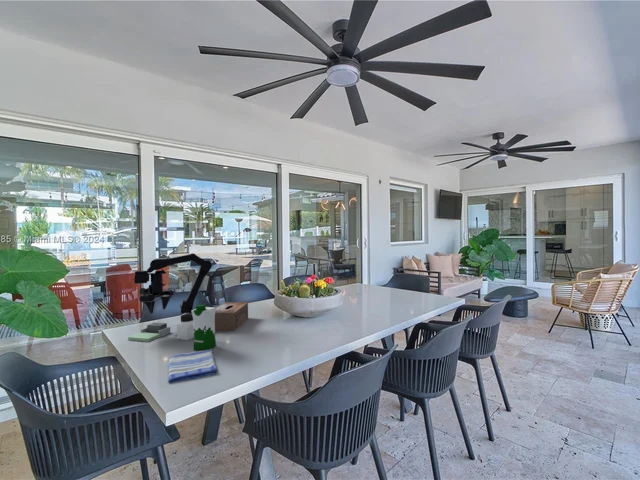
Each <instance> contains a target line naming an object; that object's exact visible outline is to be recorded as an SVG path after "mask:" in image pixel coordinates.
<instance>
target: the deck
mask: <svg viewBox="0 0 640 480" xmlns="http://www.w3.org/2000/svg"><path fill="white" fill-rule="evenodd" d="M158 333H159V334H156V333H147V326H146V327H144V328H141V329H140V332H138V333H136V334H132V335H130V336H128V337H127V340H128V341H131V342H132V341H135V342H142V343H143V342H144V343H149V342H151V341H154V340H157V339H158V338H161V337H164V336H165V335H168V334H171V327H170V326H167V328H164V329H162V330H159V331H158Z"/></svg>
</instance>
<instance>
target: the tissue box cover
mask: <svg viewBox="0 0 640 480" xmlns="http://www.w3.org/2000/svg"><path fill="white" fill-rule="evenodd" d="M215 308H216V311H215V332H235V331H236V330H237V329H238V328H239V327H241V326H242V325H243V324H244V323H245V322H246V321H247V320H248V319H249V303H248V302H245V301H244V302H242V301H241V302H239V301H238V302H233V301H232V302H228V301H227V302H223V303H222V304H220V305H218V306H217V307H215Z"/></svg>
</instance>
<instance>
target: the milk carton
mask: <svg viewBox="0 0 640 480" xmlns="http://www.w3.org/2000/svg"><path fill="white" fill-rule="evenodd" d="M216 308H217V307H210V306H206V304H204V303H203V304H197V305H196V306H195V308H193V310H191V312H192V316H193V327H194V338H193V350H194V351H204V350H209V349H210V350H212V349H213V348H215V347H217V342H216V341H217V340H216V331H215V311H216Z"/></svg>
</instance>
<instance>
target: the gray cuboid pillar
mask: <svg viewBox="0 0 640 480" xmlns="http://www.w3.org/2000/svg"><path fill="white" fill-rule="evenodd" d="M146 327H147V333H156V334H159V333H158V331H159V330H162V329H164V328H167V327H168V323H166V322H152V323H149V324H147V325H146Z"/></svg>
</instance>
